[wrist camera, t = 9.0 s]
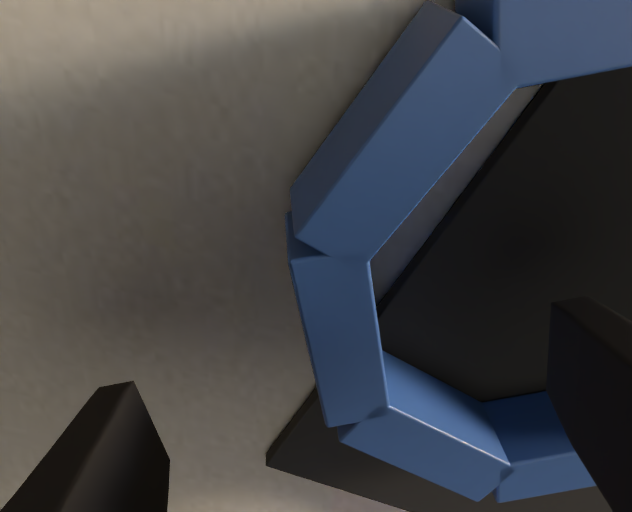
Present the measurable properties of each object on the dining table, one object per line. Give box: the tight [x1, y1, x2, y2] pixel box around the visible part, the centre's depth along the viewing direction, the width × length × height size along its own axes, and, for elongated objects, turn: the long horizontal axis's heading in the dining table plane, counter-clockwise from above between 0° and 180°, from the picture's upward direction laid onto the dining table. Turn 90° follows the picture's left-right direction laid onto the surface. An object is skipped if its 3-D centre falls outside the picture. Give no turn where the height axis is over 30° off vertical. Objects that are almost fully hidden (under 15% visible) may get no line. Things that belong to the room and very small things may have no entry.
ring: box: [285, 0, 632, 503], centre depth 11 cm, size 11×11×2 cm
